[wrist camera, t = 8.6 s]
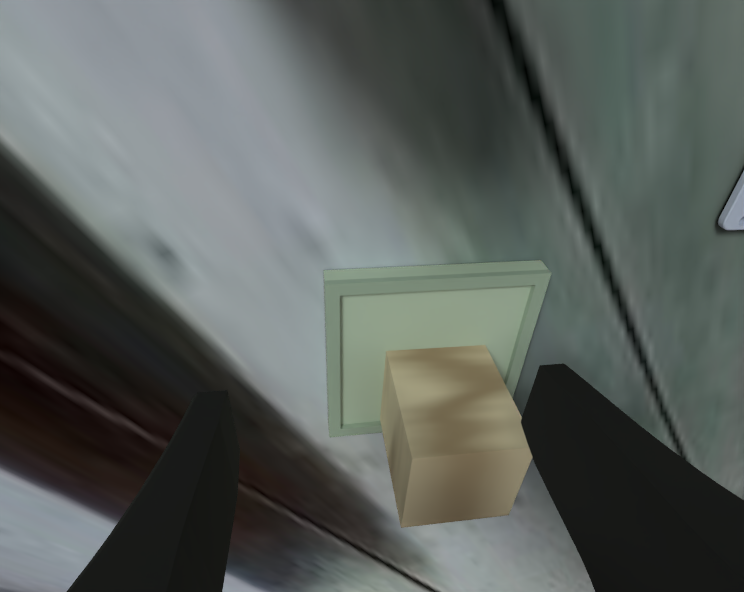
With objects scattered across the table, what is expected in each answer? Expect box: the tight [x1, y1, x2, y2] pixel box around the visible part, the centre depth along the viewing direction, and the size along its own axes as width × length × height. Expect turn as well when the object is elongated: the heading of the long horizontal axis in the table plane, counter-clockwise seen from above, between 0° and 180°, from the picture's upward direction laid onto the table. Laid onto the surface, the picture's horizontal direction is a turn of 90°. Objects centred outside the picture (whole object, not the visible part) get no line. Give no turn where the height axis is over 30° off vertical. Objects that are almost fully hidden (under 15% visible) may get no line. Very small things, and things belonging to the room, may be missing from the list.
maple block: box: [380, 345, 532, 528], centre depth 22 cm, size 5×5×6 cm
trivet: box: [324, 260, 551, 437], centre depth 23 cm, size 10×10×1 cm
